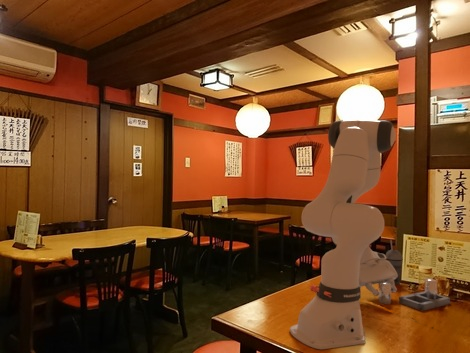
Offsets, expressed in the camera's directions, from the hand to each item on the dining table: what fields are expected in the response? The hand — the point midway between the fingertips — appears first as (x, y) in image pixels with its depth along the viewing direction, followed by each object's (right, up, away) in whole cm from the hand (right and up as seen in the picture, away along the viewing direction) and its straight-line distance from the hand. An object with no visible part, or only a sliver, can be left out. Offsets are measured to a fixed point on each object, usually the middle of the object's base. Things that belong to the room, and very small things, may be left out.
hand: (386, 293), depth 125 cm
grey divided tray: (+14, -5, 0) cm, 15 cm away
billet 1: (0, -4, 0) cm, 5 cm away
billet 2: (+17, -4, +2) cm, 18 cm away
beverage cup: (+14, -5, +25) cm, 29 cm away
